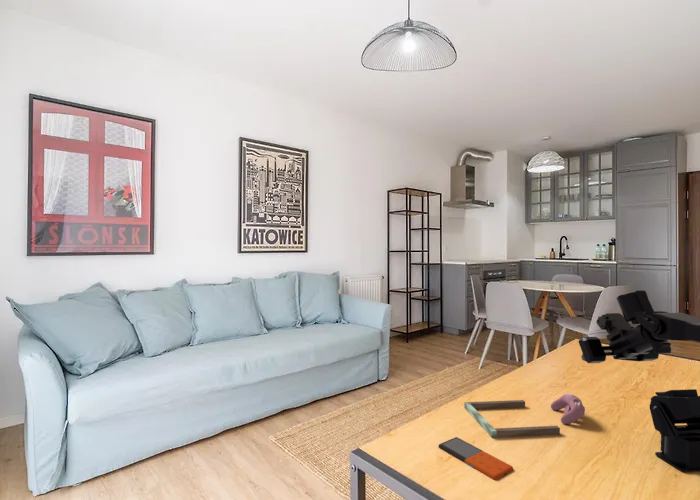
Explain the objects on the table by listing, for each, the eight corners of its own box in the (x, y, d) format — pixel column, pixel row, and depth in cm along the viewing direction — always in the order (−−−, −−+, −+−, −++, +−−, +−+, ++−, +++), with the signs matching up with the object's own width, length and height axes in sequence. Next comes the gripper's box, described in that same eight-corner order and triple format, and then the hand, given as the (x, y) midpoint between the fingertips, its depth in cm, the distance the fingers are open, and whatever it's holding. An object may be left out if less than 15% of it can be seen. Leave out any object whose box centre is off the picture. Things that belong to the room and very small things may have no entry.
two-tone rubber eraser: (495, 477, 76) (437, 443, 88) (495, 483, 76) (437, 449, 88) (514, 466, 79) (456, 435, 92) (514, 472, 79) (456, 441, 92)
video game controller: (577, 432, 98) (591, 409, 97) (560, 422, 99) (574, 399, 98) (564, 415, 108) (577, 393, 107) (548, 406, 109) (561, 385, 108)
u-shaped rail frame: (559, 434, 94) (559, 427, 94) (491, 437, 92) (491, 431, 92) (522, 405, 110) (522, 399, 110) (464, 407, 109) (464, 402, 109)
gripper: (658, 307, 98) (617, 328, 112) (589, 309, 96) (556, 330, 110) (680, 351, 93) (634, 367, 106) (607, 354, 91) (569, 370, 104)
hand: (598, 357), depth 107 cm, fingers open, 9 cm apart
